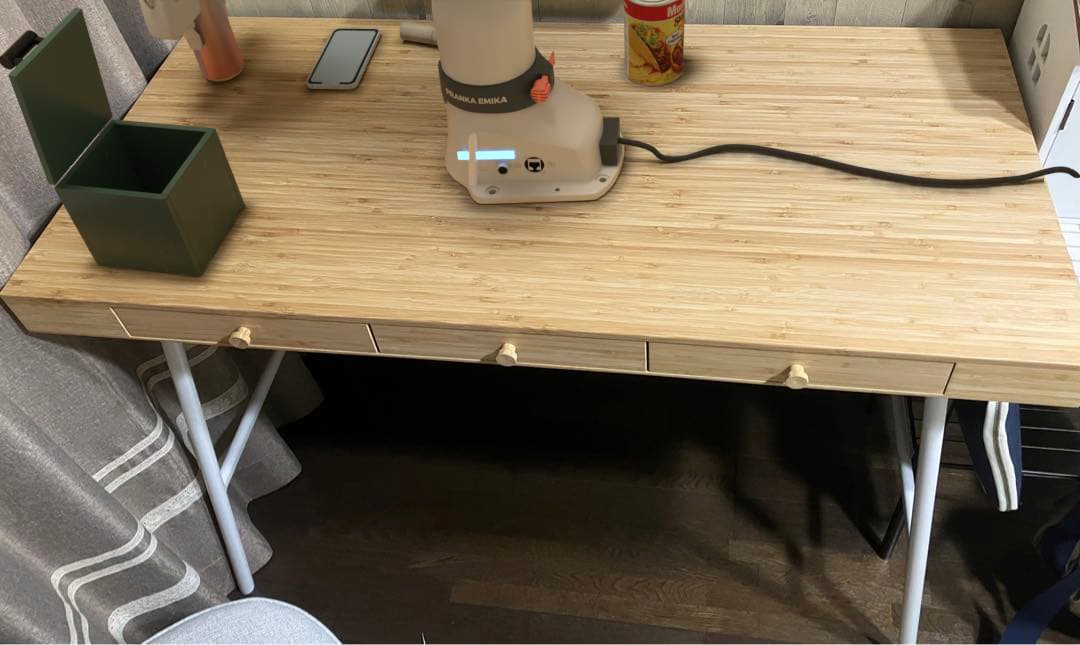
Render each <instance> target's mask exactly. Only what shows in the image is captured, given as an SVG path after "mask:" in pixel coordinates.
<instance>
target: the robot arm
mask: <svg viewBox="0 0 1080 645" xmlns="http://www.w3.org/2000/svg"><path fill="white" fill-rule="evenodd" d="M138 1H139V4H140V9H141V13H142V15H143V20H144V21H145V24H146V27H147V30H148V32H149V34H150V35H151V36H152V37H154V38H155V39H157V40H163V41H164V40H166V41H176V40H178V39H180V38H181V37H183V38H184V39H185V40H186V41H187V44H188V46H189V48H190V49H191V50H192V51H193V50H201V48H202V47H203V46H204V45H205V43H206V42H205V39H204V37H203V34H202V33H197V32H196V31H195V30H194V29H193V28H194V27H195V24H194V20H195V18H196V17H197V16H198V15H199V14H200V13H201V6H200V3H199V1H198V0H138ZM222 3H223V6H224V8H225V11H226V14H227V17H229V12H228V9H227V6H226V5H227V4H226V3H227V1H226V0H222ZM430 7H431V16H432V21H433V26H434V27H435V33H436V39H437V44H438V45H437V49H438V55H439V60H438V61H437V69H438V81H439V87H440V91H441V94H442V100H443V103H444V104H445V105H446V114H447V139H446V148H445V149H446V150H445V155H444V165H445V169H446V170H447V173H448V174H449V175H450V177H451V178H452V179H453V180H455V181H456V182H457V183H459V184H460V185H462V186H463V187H464V188H466V189H467V190H468V194H469V195H470V197H471V198H472V200H473V201H474V202H475V203H477V204H480V205H493V204H494V205H495V204H517V203H518V204H520V203H521V204H523V203H525V204H526V203H548V202H550V203H551V202H554V203H555V202H577V201H578V202H580V201H581V202H582V201H594V200H598V199H600V198H601V197H603V196H604V195H605V194H607V192H608V191H609V190H610V189H611V188H612V187H613V185H614V184H615V183H616V181H617V179H618V177H619V175H620V172H621V170H622V167H623V165H624V164H623V163H624V159H625V151H626V150H625V146H630V147H635V148H640V149H643V150H646V151H648V152H649V153H651V154H652V155H654V156H655V157H656V158H657V159H658V160H659V161H663V162H668V163H680V162H686V161H690V160H694V159H697V158H701V157H704V156H707V155H710V154H714V153H717V152H724V151H749V152H757V153H758V152H759V153H765V154H770V155H776V156H780V157H785V158H791V159H796V160H802V161H807V162H811V163H815V164H820V165H825V166H828V167H832V168H835V169H840V170H844V171H848V172H852V173H853V172H854V173H856V174H862V175H867V176H872V177H879V178H883V179H888V180H894V181H900V182H906V183H911V184H912V183H913V184H922V185H931V186H932V185H933V186H950V187H951V186H953V187H954V186H955V187H963V186H964V187H965V186H966V187H967V186H985V185H998V184H1011V183H1020V182H1025V181H1030V180H1033V179H1037V178H1041V177H1043V176H1048V175H1053V174H1059V173H1060V174H1067V175H1069V176H1071V177H1072V178H1074V179H1080V172H1078V171H1077V170H1075V169H1074V168H1071V167H1068V166H1064V165H1059V166H1058V165H1057V166H1050V167H1045V168H1043V169H1039V170H1036V171H1031V172H1028V173H1024V174H1019V175H1018V174H1017V175H1010V176H997V177H985V178H968V179H967V178H965V179H963V178H959V179H958V178H957V179H956V178H953V179H952V178H935V177H934V178H933V177H923V176H915V175H909V174H908V175H906V174H901V173H894V172H889V171H885V170H879V169H874V168H868V167H863V166H858V165H853V164H849V163H845V162H841V161H836V160H833V159H830V158H824V157H820V156H817V155H812V154H807V153H801V152H796V151H791V150H785V149H780V148H775V147H770V146H763V145H756V144H746V143H725V144H719V145H715V146H710V147H707V148H704V149H700V150H699V151H698V150H697V151H695V152H691V153H688V154H684V155H668V154H667V155H666V154H662V152H661V151H659V150H658V149H657V148H656V147H655V146H653V145H652V144H649V143H646V142H643V141H640V140H636V139H635V140H634V139H630V138H624V136H623V133H622V132H621V120H620V118H621V117H620V116H619V117H618V116H616V117H615V116H613V117H611V116H609V117H607V116H606V117H605V116H603V113H602V110H601V108H600V105H599V104H598V103H597V101H596V100H594V98H593V97H591V96H589V95H587V94H586V93H584V92H582V91H580V90H578V89H577V88H575V87H573V86H571V85H570V84H568V83H567V82H566V81H563V80H562V79H560V78H559V77H557V76H555V69H554V66H555V64H556V58H555V51H553V50H552V51H551V53H550V56H549V59H547V58H546V57H545V56H543V54H541V52H540V51H539V49H538V48H537V46H536V44H535V31H534V30H535V29H534V18H533V5H532V0H431V6H430Z"/></svg>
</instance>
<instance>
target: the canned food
mask: <svg viewBox="0 0 1080 645" xmlns="http://www.w3.org/2000/svg"><path fill="white" fill-rule="evenodd" d="M685 16H686V0H623V42H624V43H623V44H624V47H623V48H624V50H623V52H624V72H625V75H626V76H627V78H628V79H629V80H630V81H632V82H634V83H636V84H639V85H642V86H647V87H651V86H652V87H656V86H664V85H668V84H670V83H672V82H674V81H676V80H678V78H680V77H681V76H682V74H683V70H684V54H685V53H684V51H685V50H684V49H685V48H684V47H685V19H686V18H685Z"/></svg>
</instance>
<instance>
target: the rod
mask: <svg viewBox="0 0 1080 645" xmlns="http://www.w3.org/2000/svg"><path fill="white" fill-rule="evenodd" d="M399 38H400V39H401V40H403V41H409V42H416V43H421V44H427V45H433V46H438V44H437V39H436V33H435V27H434V25H430V24H423V23H418V22H414V21H408V20H403V22H401V23H400V26H399Z"/></svg>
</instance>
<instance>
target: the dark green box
mask: <svg viewBox="0 0 1080 645" xmlns="http://www.w3.org/2000/svg"><path fill="white" fill-rule="evenodd" d="M53 189H54V191H55V192H56V195H57V196H58V198H59V200H60V202H61V203H62V205H63V206H64V209H65V210H66V212H67V214H68V216H69V217H70V219H71V221H72V223H73V225H74V226H75V228H76V230H77V231H78V234H79V235H80V237H81V239H82V241H83V242H84V245H85V246H86V247H87V249H88V251H89V253H90V255H91V256H92V258H93V260H94V262H95V264H96V265H97V266H104V267H105V266H106V267H113V268H121V269H130V270H137V271H138V270H139V271H146V272H155V273H162V274H172V275H180V276H189V277H198V278H200V277H202V275H203V274H204V272H205V270H206V269H207V267H208V265H209V264H210V262H211V261H212V260H213V258H214V256H215V255H216V253H217V251H218V250H219V248H220V247H221V246H222V244H223V242H224V241H225V239H226V237H227V236H228V234H229V232H230V231H231V229H232V228H233V226H234V225H235V223H236V222H237V220H238V219H239V217H240V215H241V214H242V212H243V211H244V209H245V207H246V203H245V201H244V198H243V196H242V193H241V190H240V187H239V185H238V182H237V181H236V177H235V175H234V173H233V170H232V167H231V165H230V162H229V159H228V157H227V155H226V151H225V149H224V147H223V143H222V141H221V139H220V137H219V133H218V130H217V129H216V127H206V126H195V125H184V124H172V123H171V124H170V123H159V122H147V121H137V120H125V119H112V118H111V119H110V121H109V122H108V123H107V124H106V125H105V127H104V128H103V129H102V130H101V131H100V133H99V134H98V135H97V136H96V137H95V138H94V140H93V141H92V142H91V143H90V144H89V146H88V147H87V148H86V149H85V150H84V152H83V153H82V154H81V155H80V156H79V158H78V159H77V160H76V161H75V162H74V164H73V165H72V166H71V167H70V168H69V170H68V171H67V172H66V173H65V174H64V175H63V177H62V178H61V179H60V180H59V181H58V183H57V184H56V185H54V188H53Z"/></svg>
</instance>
